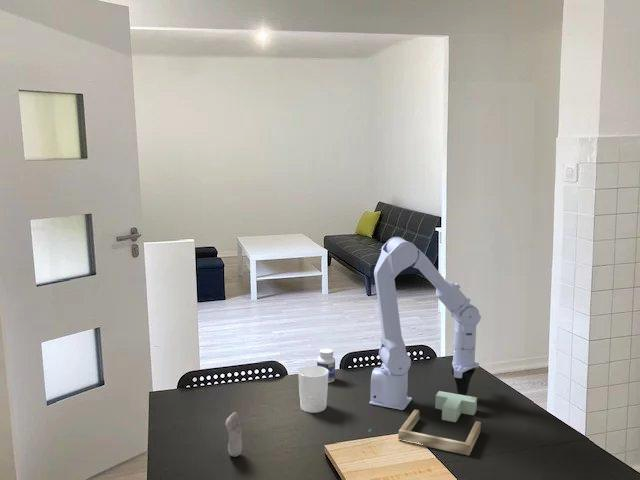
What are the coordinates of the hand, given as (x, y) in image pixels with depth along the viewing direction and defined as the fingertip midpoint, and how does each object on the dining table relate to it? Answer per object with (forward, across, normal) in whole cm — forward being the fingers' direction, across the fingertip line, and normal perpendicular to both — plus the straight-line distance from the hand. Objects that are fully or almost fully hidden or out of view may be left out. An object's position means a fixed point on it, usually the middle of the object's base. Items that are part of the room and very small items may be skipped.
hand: (462, 394), depth 167 cm
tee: (+1, -11, 0) cm, 11 cm away
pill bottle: (+1, -4, +39) cm, 39 cm away
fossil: (+1, -53, +39) cm, 66 cm away
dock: (+1, -24, 0) cm, 24 cm away
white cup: (+1, -23, +34) cm, 41 cm away
